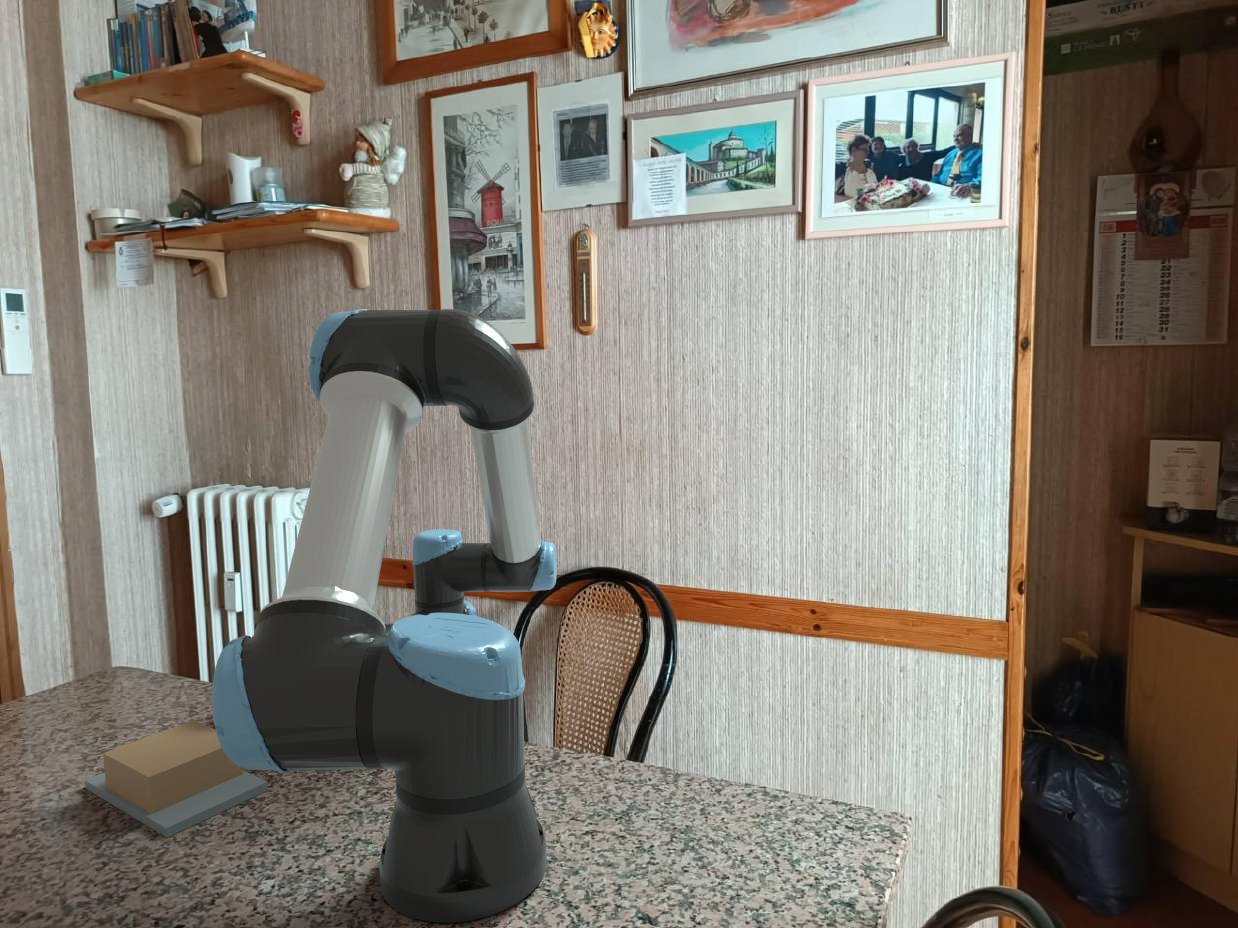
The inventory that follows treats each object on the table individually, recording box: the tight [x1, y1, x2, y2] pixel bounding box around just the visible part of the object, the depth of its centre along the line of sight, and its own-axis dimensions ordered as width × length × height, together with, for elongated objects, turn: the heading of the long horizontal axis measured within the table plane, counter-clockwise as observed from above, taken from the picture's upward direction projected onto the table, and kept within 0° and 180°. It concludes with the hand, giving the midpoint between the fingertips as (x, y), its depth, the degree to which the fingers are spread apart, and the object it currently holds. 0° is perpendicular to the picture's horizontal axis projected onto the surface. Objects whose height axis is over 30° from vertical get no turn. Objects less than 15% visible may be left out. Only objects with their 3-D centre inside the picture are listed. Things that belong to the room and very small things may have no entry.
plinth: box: [84, 719, 269, 838], centre depth 89 cm, size 18×11×5 cm, turn 56°
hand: (254, 696), depth 99 cm, fingers open, 13 cm apart
